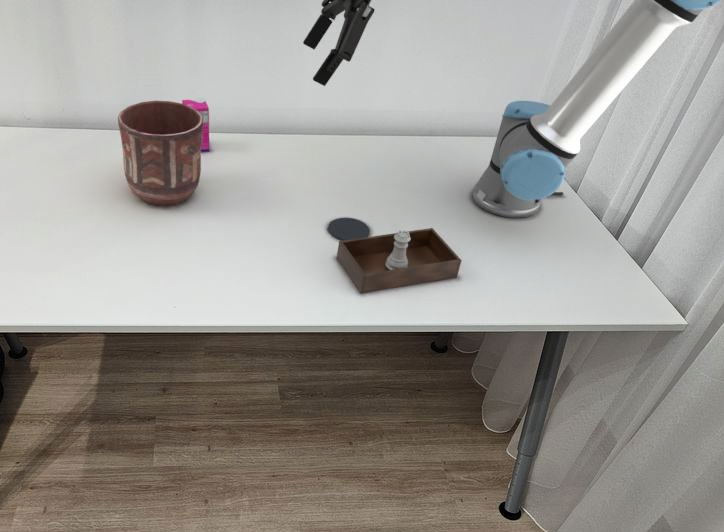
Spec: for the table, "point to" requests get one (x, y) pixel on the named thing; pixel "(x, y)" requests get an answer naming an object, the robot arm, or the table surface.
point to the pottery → (161, 150)
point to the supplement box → (204, 111)
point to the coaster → (348, 229)
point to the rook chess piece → (399, 251)
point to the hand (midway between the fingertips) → (313, 63)
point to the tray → (424, 265)
